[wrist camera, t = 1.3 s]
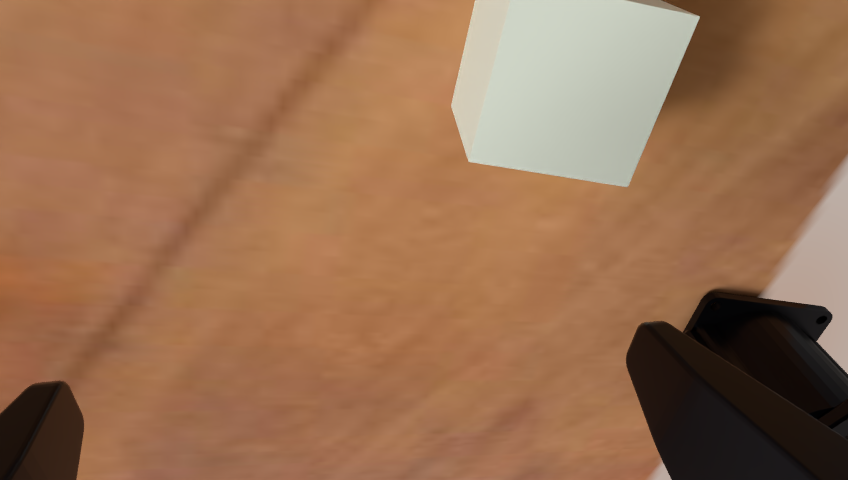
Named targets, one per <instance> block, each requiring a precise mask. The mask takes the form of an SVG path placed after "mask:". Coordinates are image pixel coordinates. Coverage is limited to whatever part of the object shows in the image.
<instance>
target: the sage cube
mask: <svg viewBox="0 0 848 480" xmlns="http://www.w3.org/2000/svg"><path fill="white" fill-rule="evenodd" d="M699 18H700V16H698V15H695V14H693V13H691V12H688V11H686V10H683V9H681V8H679V7H676V6H674V5H671V4H669V3H666V2H664V1H662V0H475V4H474V8H473V13H472V17H471V21H470V26H469V30H468V34H467V39H466V43H465V47H464V52H463V56H462V61H461V65H460V69H459V74H458V78H457V82H456V87H455V91H454V95H453V100H452V104H451V107H452V111H453V114H454V117H455V120H456V123H457V126H458V130H459V133H460V136H461V139H462V142H463V145H464V149H465V152H466V155H467V158H468V161H469V162H474V163H480V164H486V165H492V166H499V167H505V168H511V169H517V170H524V171H530V172H536V173H542V174H548V175H555V176H561V177H567V178H573V179H580V180H586V181H592V182H598V183H604V184H611V185H617V186H623V187H628V185H629V183H630V180H631V178H632V176H633V173H634V171H635V169H636V166H637V164H638V162H639V159H640V157H641V155H642V152H643V150H644V148H645V145H646V143H647V140H648V138H649V136H650V133H651V131H652V129H653V126H654V124H655V122H656V119H657V117H658V115H659V112H660V110H661V108H662V105H663V103H664V100H665V98H666V96H667V93H668V91H669V89H670V86H671V84H672V82H673V79H674V77H675V75H676V72H677V70H678V68H679V65H680V63H681V60H682V58H683V56H684V53H685V51H686V49H687V46H688V44H689V42H690V39H691V37H692V35H693V32H694V30H695V28H696V25H697V23H698V20H699Z"/></svg>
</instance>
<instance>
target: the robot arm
mask: <svg viewBox="0 0 848 480" xmlns="http://www.w3.org/2000/svg"><path fill="white" fill-rule="evenodd" d="M714 302H715V304H713V305H711V304H712V303H714ZM831 320H832V314H831V313H830V312H829V311H828V310H827V309H826V308H825V307H822V306H816V305H809V304H801V303H794V302H786V301H779V300H771V299H764V298H756V297H749V296H741V295H734V294H726V293H719V292H712V293H709V294H707V295H705V296H704V297H703V298H702V299H701V301H700V303H699V305H698V307H697V308H696V310H695V312H694V314H693V315H692V317H691V319H690V321H689V323H688V324H687V326H686V328H685V330H684V331H683V332H681V331H680V330H678V329H676V328H675V327H673V326H672V325H670V324H669V323H667V322H664V321H654V322H644V323H642V324H641V325H639V326H638V328H637V330H636V333H635V335H634V337H633V340H632V342H631V345H630V347H629V349H628V352H627V356H626V364H627V368H628V371H629V374H630V377H631V380H632V383H633V385H634V388H635V391H636V394H637V396H638V399H639V402H640V405H641V407H642V410H643V413H644V416H645V418H646V421H647V424H648V427H649V429H650V432H651V435H652V437H653V440H654V442H655V445H656V447H657V450H658V452H659V454H660V456H661V458H662V461H663V463H664V465H665V467H666V469H667V471H668V473H669V475H670V477H671V479H672V480H848V374H847V373H846V372H845V371H844V370H843V369H842V368H841V367H840V366H839V365H838V364H837V363H836V362H835V361H834V360H833V358H832V357H831V356H829V354H828V353H827V352H826V351H825V350H824V349H823V348H822V347H821V346H820V345H819V344H818V343H817V342H816V341H817V340H818V338H819V337H820V335H821V334H822V333H823V331H824V330H825V329H826V327H827V326H828V324H829V323H830V322H831ZM83 432H84V420H83V416H82V413H81V411H80V408H79V406H78V404H77V402H76V400H75V398H74V396H73V393H72V391H71V389H70V387H69V385H68V384H67V383H66V382H64V381H52V382H41V383H35V384H32V385H31V386H29V387H28V388H26V389H25V390H24V391H23V392H22V393H21V394H20V395H19V396H18V397H17V398H16V399H15V400H14V401H13V402H12V403H11V404H10V405H9V406H8V407H7V408H6V409H5V410H4V411H3V412H2V413H0V480H76V478H77V472H78V465H79V459H80V452H81V446H82V439H83Z"/></svg>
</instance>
